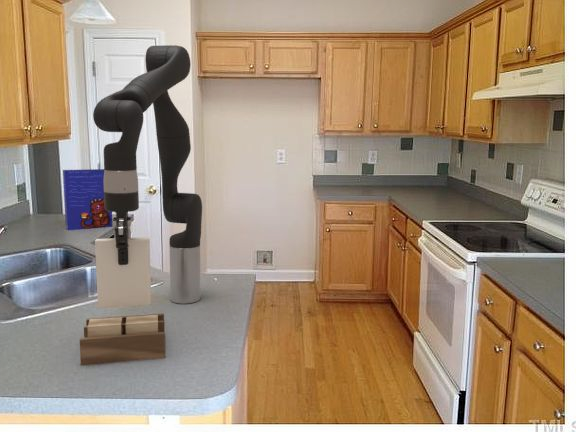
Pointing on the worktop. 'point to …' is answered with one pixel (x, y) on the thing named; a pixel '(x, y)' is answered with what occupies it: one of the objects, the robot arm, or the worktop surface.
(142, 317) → the offcut block
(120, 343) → the rack
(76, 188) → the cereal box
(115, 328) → the offcut block
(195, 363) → the worktop surface
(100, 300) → the cutting board
